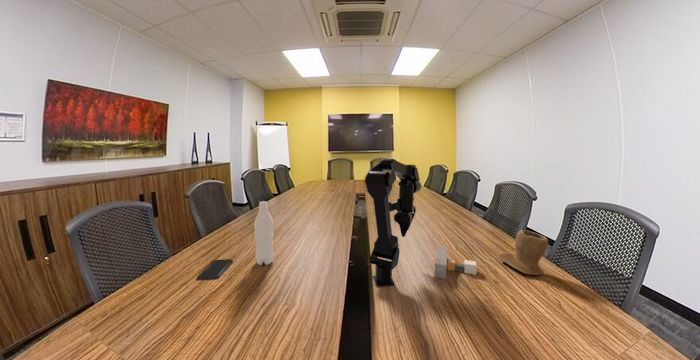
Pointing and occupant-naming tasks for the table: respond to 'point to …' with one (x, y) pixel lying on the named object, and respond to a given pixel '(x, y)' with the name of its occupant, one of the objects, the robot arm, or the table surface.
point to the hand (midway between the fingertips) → (405, 233)
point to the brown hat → (527, 252)
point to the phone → (215, 269)
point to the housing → (440, 262)
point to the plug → (463, 266)
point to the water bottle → (264, 235)
